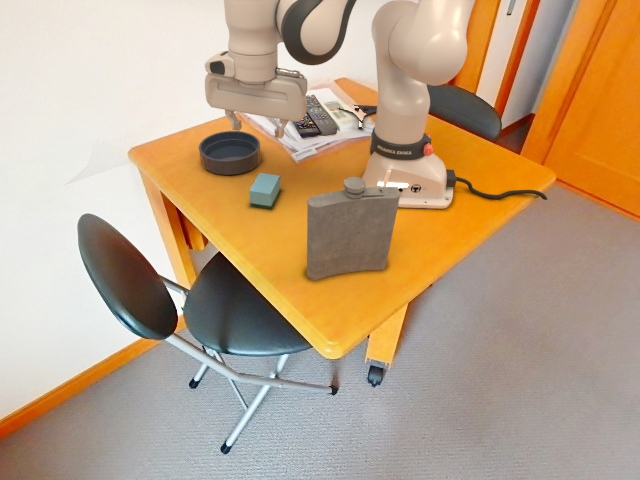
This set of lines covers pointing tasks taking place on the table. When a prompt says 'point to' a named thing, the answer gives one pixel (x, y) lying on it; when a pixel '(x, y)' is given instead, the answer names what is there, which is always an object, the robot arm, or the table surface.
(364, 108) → the bracket
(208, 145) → the bowl
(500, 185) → the table surface
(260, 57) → the robot arm
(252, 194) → the sponge
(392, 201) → the hip flask
